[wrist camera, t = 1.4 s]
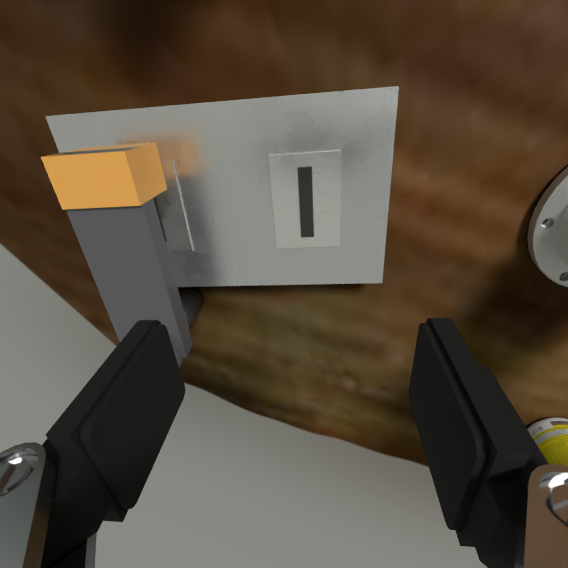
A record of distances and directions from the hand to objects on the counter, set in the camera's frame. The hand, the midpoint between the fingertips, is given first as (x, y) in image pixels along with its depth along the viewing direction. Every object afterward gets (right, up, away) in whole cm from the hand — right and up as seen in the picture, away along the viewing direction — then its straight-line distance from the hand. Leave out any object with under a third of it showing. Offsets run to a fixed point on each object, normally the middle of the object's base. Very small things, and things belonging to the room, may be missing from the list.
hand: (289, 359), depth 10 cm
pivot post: (-9, +1, +23) cm, 25 cm away
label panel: (-4, +10, +18) cm, 21 cm away
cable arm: (-10, +4, +16) cm, 19 cm away
